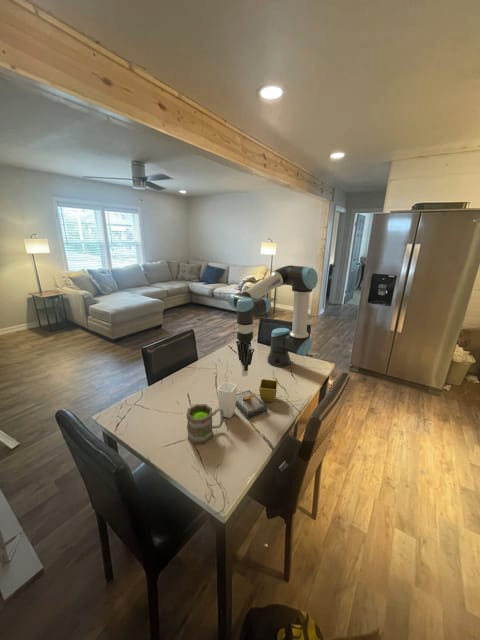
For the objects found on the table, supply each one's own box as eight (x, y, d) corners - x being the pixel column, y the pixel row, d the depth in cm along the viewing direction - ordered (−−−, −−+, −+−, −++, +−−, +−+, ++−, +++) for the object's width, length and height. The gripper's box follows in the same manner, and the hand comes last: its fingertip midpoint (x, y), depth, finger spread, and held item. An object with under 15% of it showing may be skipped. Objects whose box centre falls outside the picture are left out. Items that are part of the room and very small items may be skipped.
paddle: (249, 394, 132) (255, 393, 126) (250, 397, 132) (256, 396, 126) (241, 397, 130) (247, 395, 124) (242, 400, 129) (248, 398, 124)
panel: (249, 394, 139) (249, 389, 138) (267, 411, 126) (267, 406, 125) (231, 401, 133) (231, 395, 132) (247, 419, 120) (248, 413, 119)
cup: (216, 416, 122) (216, 388, 117) (223, 407, 128) (223, 381, 124) (230, 421, 119) (231, 392, 115) (237, 411, 126) (237, 384, 121)
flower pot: (275, 405, 131) (276, 390, 128) (258, 403, 132) (259, 387, 130) (276, 395, 139) (277, 380, 136) (260, 393, 141) (261, 378, 138)
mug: (190, 448, 103) (189, 423, 100) (184, 430, 113) (183, 407, 109) (227, 437, 110) (227, 413, 106) (219, 421, 119) (219, 398, 115)
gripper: (231, 328, 125) (231, 371, 133) (245, 337, 115) (245, 383, 123) (244, 325, 129) (244, 367, 137) (259, 334, 118) (258, 379, 126)
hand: (244, 375), depth 130 cm, fingers closed
